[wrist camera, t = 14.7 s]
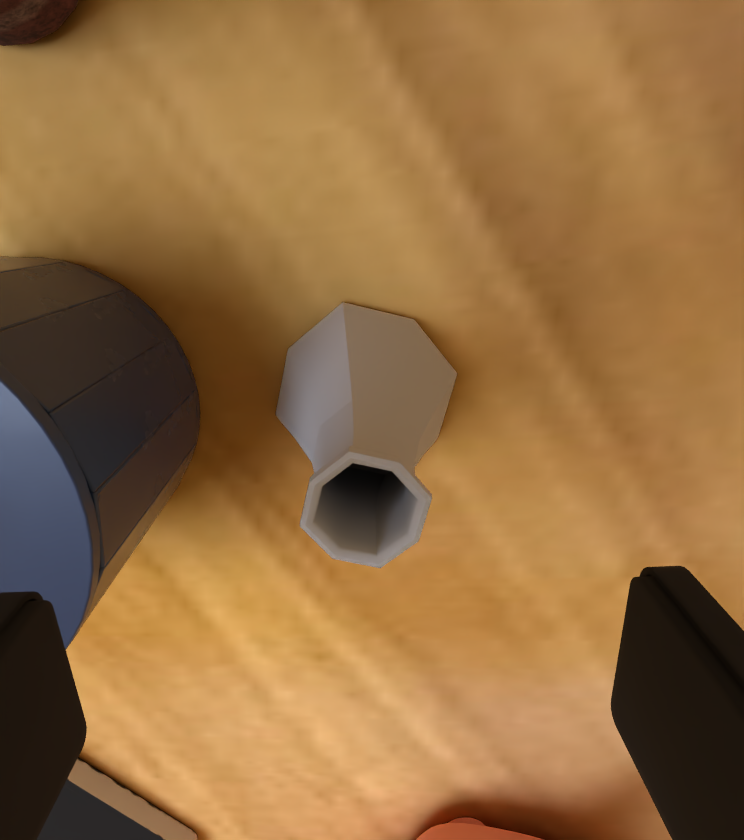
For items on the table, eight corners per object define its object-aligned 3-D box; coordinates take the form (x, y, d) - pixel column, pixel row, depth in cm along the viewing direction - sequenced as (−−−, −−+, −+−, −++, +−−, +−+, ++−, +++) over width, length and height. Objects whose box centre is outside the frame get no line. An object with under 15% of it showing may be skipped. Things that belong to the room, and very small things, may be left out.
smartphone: (113, 920, 33) (-120, 792, 29) (122, 894, 35) (-100, 768, 31) (198, 860, 32) (-37, 715, 28) (204, 835, 33) (-20, 693, 29)
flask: (247, 418, 24) (169, 554, 14) (334, 268, 22) (311, 311, 12) (391, 498, 25) (407, 669, 16) (487, 364, 23) (570, 469, 14)
